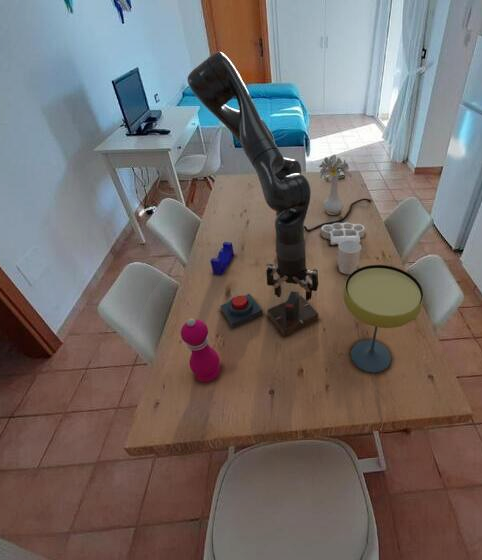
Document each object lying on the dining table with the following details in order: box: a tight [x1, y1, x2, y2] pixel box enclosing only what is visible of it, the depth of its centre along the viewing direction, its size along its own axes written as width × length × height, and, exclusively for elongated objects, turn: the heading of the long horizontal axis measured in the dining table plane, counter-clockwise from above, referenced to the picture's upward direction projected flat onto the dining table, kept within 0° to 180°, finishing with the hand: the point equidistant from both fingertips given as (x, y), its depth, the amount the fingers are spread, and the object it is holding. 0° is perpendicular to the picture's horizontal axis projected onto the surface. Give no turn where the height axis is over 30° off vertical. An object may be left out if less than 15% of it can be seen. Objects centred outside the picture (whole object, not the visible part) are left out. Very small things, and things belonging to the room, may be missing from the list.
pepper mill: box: [180, 317, 221, 383], centre depth 80 cm, size 7×7×20 cm
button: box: [232, 295, 248, 309], centre depth 100 cm, size 4×4×2 cm
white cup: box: [337, 240, 362, 275], centre depth 117 cm, size 8×8×10 cm
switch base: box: [266, 294, 319, 338], centre depth 100 cm, size 12×11×3 cm
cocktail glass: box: [342, 264, 425, 374], centre depth 83 cm, size 18×18×25 cm
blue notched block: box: [210, 241, 235, 276], centre depth 120 cm, size 12×4×6 cm, turn 168°
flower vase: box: [318, 154, 351, 216], centre depth 145 cm, size 13×18×25 cm
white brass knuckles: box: [320, 222, 366, 246], centre depth 136 cm, size 3×18×15 cm
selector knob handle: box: [285, 290, 300, 320], centre depth 98 cm, size 7×2×5 cm, turn 169°
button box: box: [219, 293, 264, 329], centre depth 102 cm, size 10×9×4 cm
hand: (293, 297), depth 96 cm, fingers open, 8 cm apart
